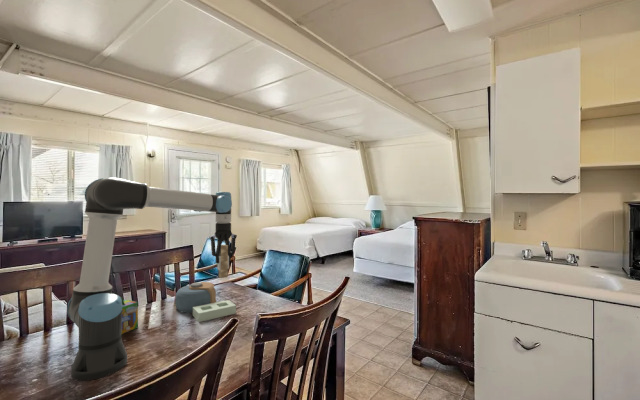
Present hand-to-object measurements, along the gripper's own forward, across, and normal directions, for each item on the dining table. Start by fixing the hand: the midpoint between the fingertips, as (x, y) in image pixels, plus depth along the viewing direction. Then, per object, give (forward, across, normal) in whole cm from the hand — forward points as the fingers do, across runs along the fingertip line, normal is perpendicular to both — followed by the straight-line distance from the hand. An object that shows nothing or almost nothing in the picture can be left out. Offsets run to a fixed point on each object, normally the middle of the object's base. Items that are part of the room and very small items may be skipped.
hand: (223, 268), depth 150 cm
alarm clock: (+22, -8, +17) cm, 29 cm away
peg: (+4, 0, 0) cm, 4 cm away
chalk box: (+22, -42, +6) cm, 48 cm away
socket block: (+22, -4, 0) cm, 22 cm away
